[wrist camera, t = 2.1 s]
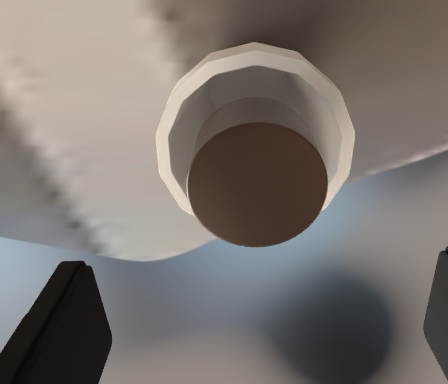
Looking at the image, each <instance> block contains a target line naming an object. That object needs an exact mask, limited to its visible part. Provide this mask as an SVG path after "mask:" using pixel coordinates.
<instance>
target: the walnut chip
mask: <svg viewBox="0 0 448 384" xmlns="http://www.w3.org/2000/svg"><path fill="white" fill-rule="evenodd" d="M186 190H187V197H188V201H189V204H190V207H191V209H192V211H193V213H194V215H195V216H196V218H197V219H198V220H199V222H200V223H201V224H202V225H203V226H204V227H205V228H206V229H207V230H208V231H209V232H211V233H212V234H213V235H215V236H217V237H218V238H220V239H222V240H224V241H227V242H229V243H232V244H235V245H240V246H245V247H266V246H272V245H276V244H280V243H283V242H285V241H288V240H290V239H292V238H294V237H296V236H297V235H299V234H300V233H302V232H303V231H304V230H305V229H307V228H308V227H309V226H310V225H311V223H313V221H314V220H315V219H316V217H317V216H318V214H319V213H320V211H321V209H322V207H323V205H324V202H325V200H326V195H327V191H328V176H327V171H326V167H325V164H324V161H323V159H322V157H321V155H320V152H319V150H318V148H317V146H316V143H315V141H314V139H313V137H312V135H311V132H310V130H309V128H308V126H307V125H306V123H305V121H304V120H303V119H302V118H301V116H300V115H299V114H298V113H297V112H296V111H295V110H293V109H292V108H290V107H289V106H288V105H286V104H284V103H282V102H279V101H277V100H274V99H270V98H265V97H247V98H241V99H237V100H234V101H231V102H229V103H227V104H225V105H223V106H222V107H220V108H219V109H217V110H216V111H215V112H214V113H213V114H211V116H210V117H209V118H208V119H207V120H206V121H205V123H204V124H203V126H202V128H201V130H200V132H199V134H198V137H197V140H196V144H195V148H194V151H193V155H192V159H191V162H190V166H189V170H188V174H187V180H186Z"/></svg>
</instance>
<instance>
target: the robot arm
mask: <svg viewBox="0 0 448 384" xmlns="http://www.w3.org/2000/svg"><path fill="white" fill-rule="evenodd" d="M423 329H424V334H425V338H426V340H427V342H428V344H429V346H430V348H431V350H432V351H433V353H434V355H435V357H436V359H437V361H438V363H439V365H440V366H441V369H442V371H443V372H444V374H445V376H446V378H447V380H448V246H447V247H446V250H445V251H441V252H440V253H439V256H438V261H437V265H436V270H435V275H434V279H433V284H432V288H431V293H430V297H429V302H428V306H427V311H426V316H425V320H424V326H423ZM111 345H112V334H111V330H110V327H109V324H108V320H107V317H106V314H105V310H104V307H103V303H102V300H101V297H100V293H99V290H98V287H97V283H96V280H95V276H94V273H93V269H92V267H91V266H86V264H85V262H84V261H63V262H61V263H60V264H59V265H58V266H57V268H56V270H55V271H54V273H53V274H52V276H51V278H50V279H49V281H48V282H47V284H46V285H45V287H44V288H43V290H42V291H41V293H40V295H39V296H38V298H37V300H36V301H35V302H34V304H33V306H32V307H31V309H30V310H29V312H28V313H27V314H26V315H25V316H24V318H23V319H22V321H21V322H20V324H19V325H18V327H17V328H16V330H15V332H14V333H13V335H12V336H11V338H10V339H9V341H8V342H7V344H6V346H5V347H4V349H3V350H2V352H1V353H0V384H98V383H99V380H100V377H101V375H102V372H103V369H104V366H105V363H106V360H107V357H108V355H109V352H110V348H111Z"/></svg>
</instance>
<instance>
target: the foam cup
mask: <svg viewBox="0 0 448 384" xmlns="http://www.w3.org/2000/svg"><path fill="white" fill-rule="evenodd" d="M247 97H265V98H270V99H274V100H277V101H279V102H282V103H284V104H286V105H288V106H289V107H290V108H292V109H293V110H295V111H296V112H297V113H298V114H299V115H300V116H301V118H302V119H303V120H304V121H305V123H306V125H307V126H308V128H309V130H310V132H311V135H312V137H313V139H314V141H315V143H316V146H317V148H318V150H319V152H320V155H321V157H322V159H323V161H324V164H325V167H326V171H327V176H328V191H327V195H326V200H325V202H324V205H323V207H322V209H321V211H323V210H324V209H326V208H327V206H328V204H329V203H330V202H331V200H332V199H333V197H334V196H335V194H336V193H337V192H338V190H339V189H340V187H341V186H342V185H343V183H344V182H345V180H346V179H347V177H348V176H349V173H350V166H351V160H352V153H353V146H354V140H355V131H354V128H353V125H352V122H351V120H350V117H349V114H348V111H347V109H346V106H345V103H344V100H343V98H342V95H341V92H340V91H339V90H338V89H337V87H336V86H335V85H334V84H333V83H332V82H331V81H330V80H329V79H328V78H327V77H326V76H325V75H324V74H323V73H321V72H320V71H319V70H318V69H317V68H316V67H315V66H313V65H312V64H311V63H310V62H309V61H308V60H306V59H305V58H304V57H303V56H302V55H301V54H300V53H298V52H296V51H292V50H288V49H283V48H279V47H275V46H270V45H266V44H262V43H257V42H252V43H248V44H244V45H240V46H236V47H232V48H228V49H224V50H220V51H216V52H212V53H210V54H209V55H208V56H207V57H206V58H204V59H203V60H202V61H201V62H200V63H199V64H197V65H196V66H195V67H194V68H193V69H192V70H191V71H189V72H188V73H187V74H186V75H185V76H184V77H183V78H181V79H180V80H179V81H178V83H177V84H176V86H175V88H174V89H173V91H172V93H171V95H170V98H169V100H168V103H167V105H166V108H165V110H164V113H163V115H162V118H161V120H160V123H159V125H158V128H157V130H156V133H155V138H156V148H157V157H158V167H159V175H160V176H161V178H162V180H163V181H164V183H165V184H166V186H167V187H168V189H169V191H170V192H171V194H172V195H173V197H174V198H175V200H176V202H177V203H178V205H179V206H180V208H182V209H183V210H185V211H186V212H188V213H189V214H191V215H192V216H194V217H195V218H196V216H195V215H194V213H193V211H192V209H191V207H190V204H189V201H188V197H187V190H186V180H187V174H188V170H189V166H190V162H191V159H192V155H193V151H194V148H195V144H196V140H197V137H198V134H199V132H200V130H201V128H202V126H203V124H204V123H205V121H206V120H207V119H208V118H209V117H210V116H211V114H213V113H214V112H215V111H216V110H217V109H219V108H220V107H222V106H223V105H225V104H227V103H229V102H231V101H234V100H237V99H241V98H247ZM321 211H320V212H321Z"/></svg>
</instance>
